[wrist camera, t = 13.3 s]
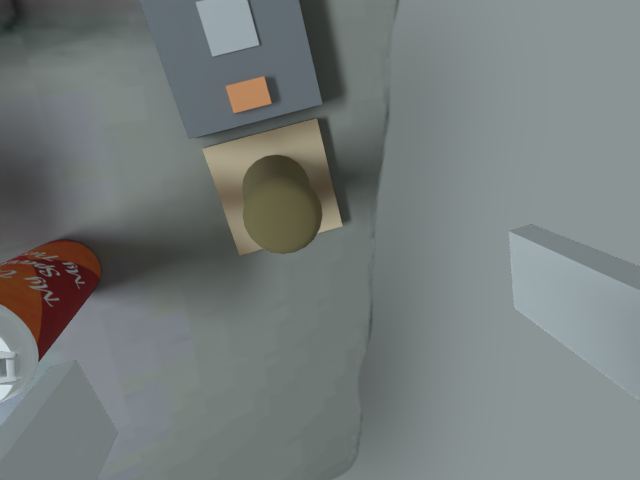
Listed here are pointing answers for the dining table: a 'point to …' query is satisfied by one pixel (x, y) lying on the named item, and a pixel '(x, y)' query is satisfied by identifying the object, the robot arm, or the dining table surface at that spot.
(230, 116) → the power strip
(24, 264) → the paper cup
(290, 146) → the oak board
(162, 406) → the dining table surface
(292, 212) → the olive knobbed peg
